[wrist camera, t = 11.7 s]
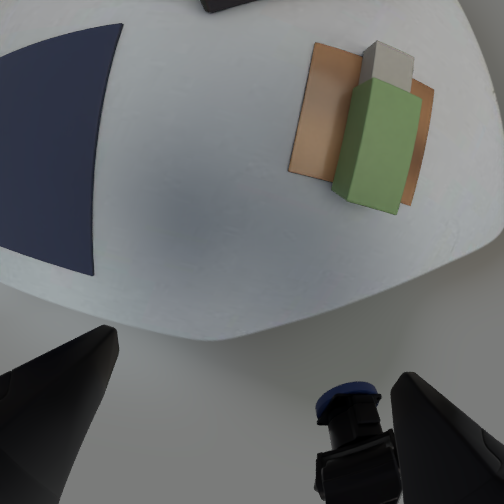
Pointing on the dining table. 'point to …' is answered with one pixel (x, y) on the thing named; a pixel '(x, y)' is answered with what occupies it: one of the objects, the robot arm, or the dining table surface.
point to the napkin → (52, 144)
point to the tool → (379, 131)
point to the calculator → (221, 4)
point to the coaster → (342, 117)
